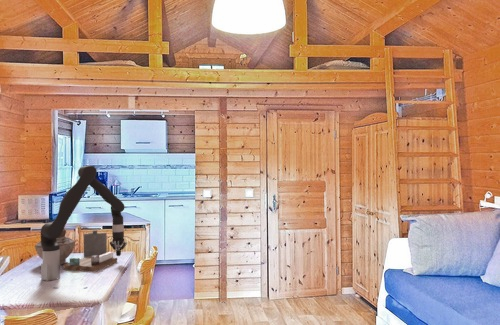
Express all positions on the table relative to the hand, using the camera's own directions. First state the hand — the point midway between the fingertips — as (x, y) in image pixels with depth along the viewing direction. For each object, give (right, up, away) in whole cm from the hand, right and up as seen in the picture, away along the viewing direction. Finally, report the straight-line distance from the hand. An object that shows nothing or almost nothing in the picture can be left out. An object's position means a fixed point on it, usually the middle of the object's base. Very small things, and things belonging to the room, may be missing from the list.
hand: (118, 255), depth 273 cm
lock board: (-17, -6, -4) cm, 19 cm away
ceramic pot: (-45, -6, +3) cm, 45 cm away
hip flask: (-24, -6, +21) cm, 32 cm away
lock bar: (-9, -2, -5) cm, 11 cm away
